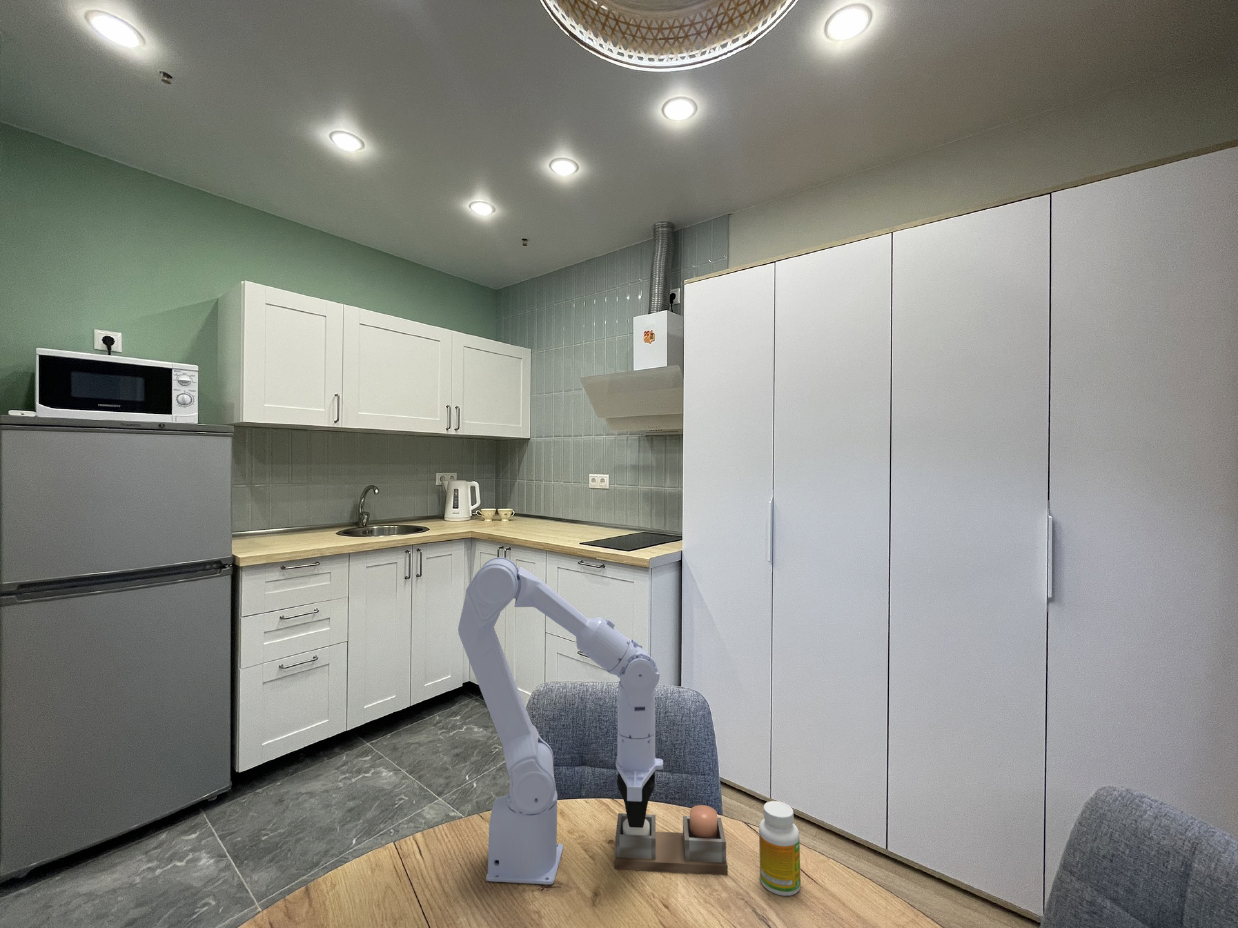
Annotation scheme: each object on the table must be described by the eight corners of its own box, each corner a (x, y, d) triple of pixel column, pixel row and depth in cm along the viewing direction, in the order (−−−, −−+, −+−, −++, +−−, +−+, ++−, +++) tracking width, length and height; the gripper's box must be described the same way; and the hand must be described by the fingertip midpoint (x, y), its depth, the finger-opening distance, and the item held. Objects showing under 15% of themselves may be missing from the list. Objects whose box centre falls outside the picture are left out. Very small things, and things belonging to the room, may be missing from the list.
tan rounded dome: (690, 837, 75) (690, 820, 75) (689, 821, 79) (688, 804, 79) (718, 839, 75) (718, 821, 75) (715, 822, 79) (715, 805, 79)
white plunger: (621, 849, 75) (622, 832, 76) (623, 832, 79) (623, 816, 80) (649, 851, 75) (649, 833, 75) (649, 833, 79) (649, 817, 79)
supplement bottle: (803, 900, 68) (801, 822, 69) (761, 894, 69) (759, 817, 70) (797, 872, 73) (796, 800, 74) (758, 866, 74) (757, 796, 75)
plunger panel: (614, 869, 74) (614, 839, 74) (617, 837, 81) (617, 810, 81) (727, 874, 73) (727, 844, 73) (721, 842, 80) (721, 815, 80)
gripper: (663, 754, 71) (664, 859, 70) (662, 712, 86) (662, 799, 84) (612, 752, 72) (612, 856, 70) (619, 711, 86) (619, 797, 85)
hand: (636, 825), depth 77 cm, fingers closed, pressing on white plunger
